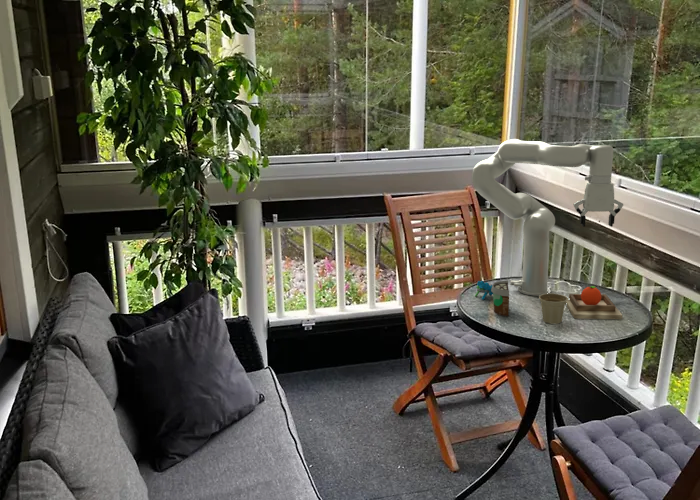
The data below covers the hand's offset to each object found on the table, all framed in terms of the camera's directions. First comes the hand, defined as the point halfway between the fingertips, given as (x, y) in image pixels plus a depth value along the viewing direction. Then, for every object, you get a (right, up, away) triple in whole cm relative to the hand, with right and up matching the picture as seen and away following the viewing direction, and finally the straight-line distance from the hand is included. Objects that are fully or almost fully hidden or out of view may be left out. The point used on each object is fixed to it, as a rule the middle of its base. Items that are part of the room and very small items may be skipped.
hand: (596, 225), depth 230 cm
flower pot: (-21, -34, -14) cm, 42 cm away
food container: (-37, -31, -3) cm, 49 cm away
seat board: (-4, -30, -4) cm, 31 cm away
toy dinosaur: (-38, -28, +12) cm, 48 cm away
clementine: (-4, -29, -4) cm, 29 cm away
